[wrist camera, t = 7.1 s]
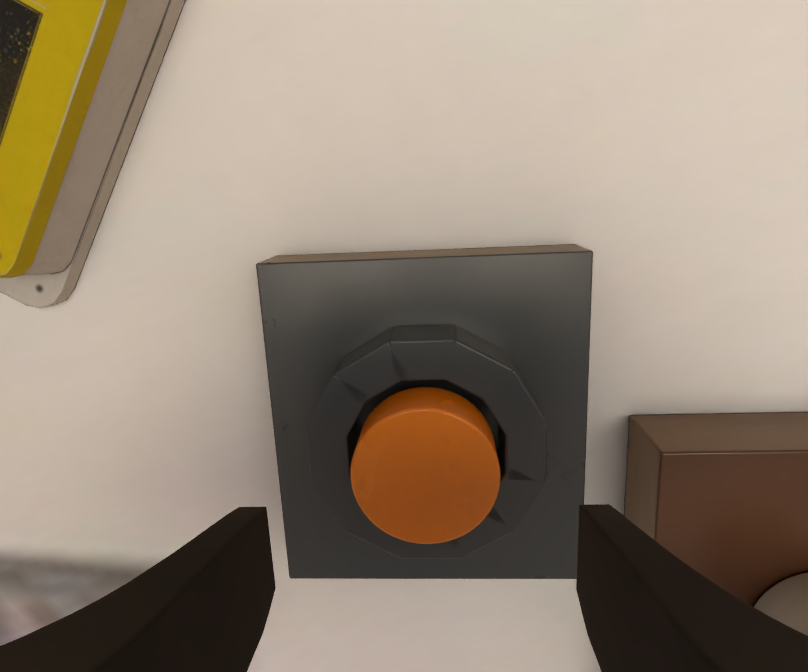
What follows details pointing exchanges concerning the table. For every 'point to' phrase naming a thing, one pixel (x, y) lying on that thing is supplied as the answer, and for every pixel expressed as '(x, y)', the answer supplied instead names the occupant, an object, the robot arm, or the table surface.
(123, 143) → the emergency button
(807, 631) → the dial
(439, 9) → the table surface
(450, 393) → the button
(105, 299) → the table surface
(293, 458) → the button box
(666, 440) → the control panel
